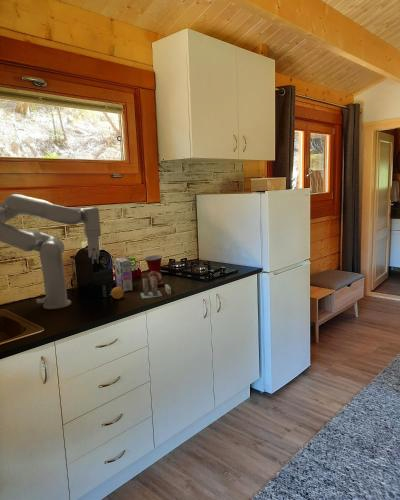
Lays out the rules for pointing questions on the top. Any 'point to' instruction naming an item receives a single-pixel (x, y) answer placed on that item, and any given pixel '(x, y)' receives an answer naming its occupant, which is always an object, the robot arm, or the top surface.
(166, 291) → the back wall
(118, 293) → the ball
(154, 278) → the back pin far
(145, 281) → the front pin
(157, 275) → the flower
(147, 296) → the pin deck mark
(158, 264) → the plastic cup
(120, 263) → the candy box
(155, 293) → the back pin near
